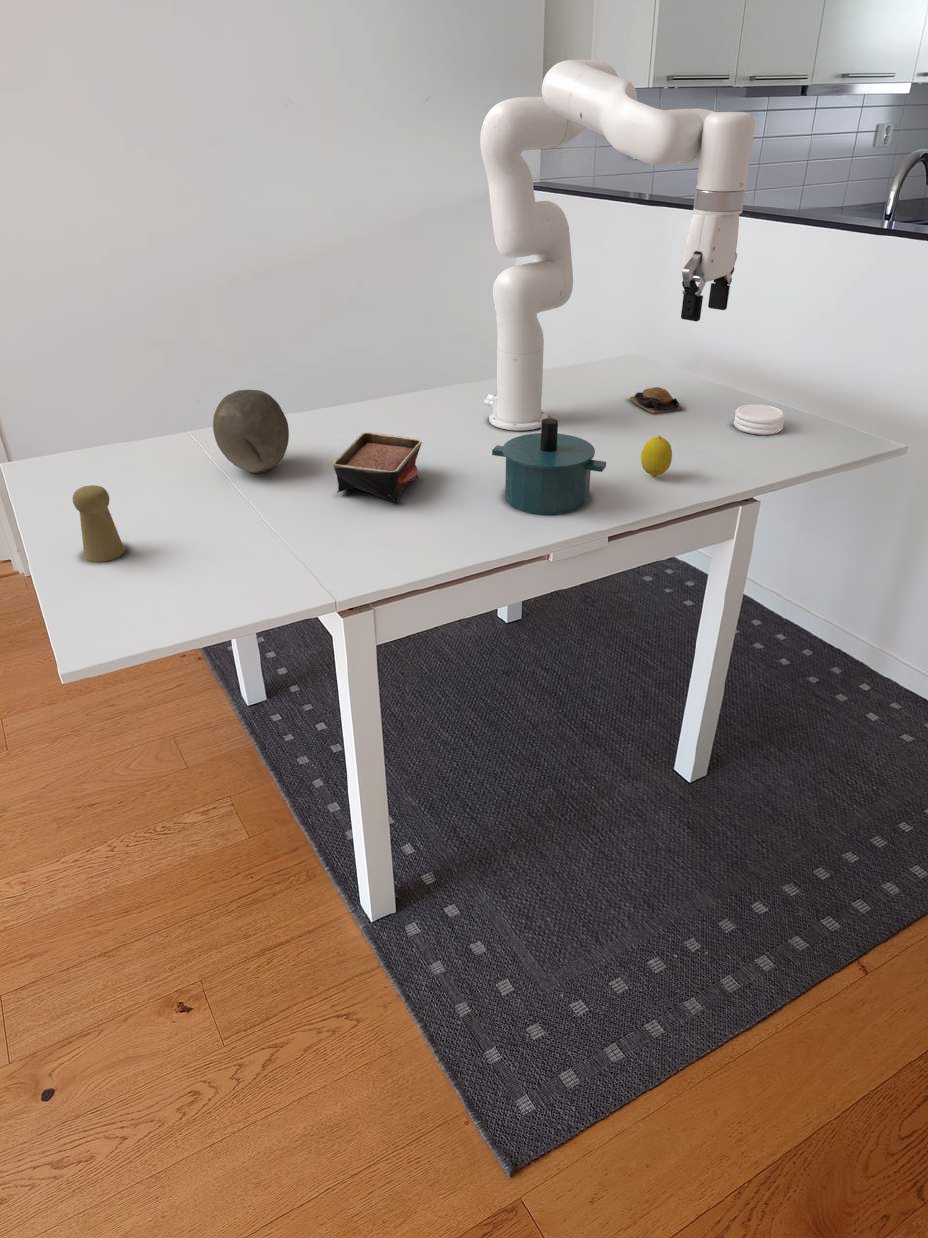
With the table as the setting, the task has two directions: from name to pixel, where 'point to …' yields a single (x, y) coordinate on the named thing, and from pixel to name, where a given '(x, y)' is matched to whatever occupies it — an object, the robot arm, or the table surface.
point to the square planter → (378, 464)
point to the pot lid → (548, 449)
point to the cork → (97, 524)
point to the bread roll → (656, 401)
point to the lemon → (656, 456)
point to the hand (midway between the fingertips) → (703, 314)
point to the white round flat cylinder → (759, 419)
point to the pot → (547, 486)
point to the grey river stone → (251, 430)
